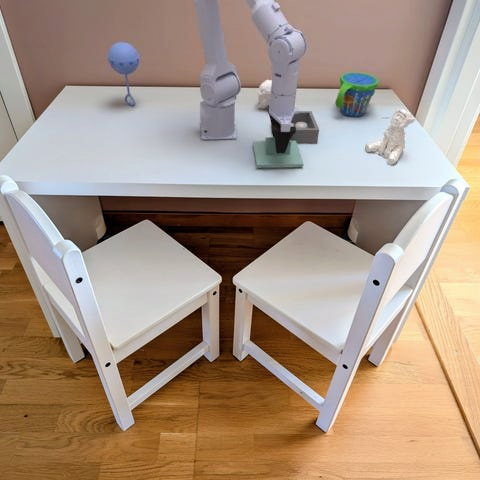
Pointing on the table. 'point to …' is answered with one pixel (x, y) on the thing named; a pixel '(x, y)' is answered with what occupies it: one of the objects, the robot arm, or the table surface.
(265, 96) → the white lumpy piece
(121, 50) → the baby rattle
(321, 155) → the table surface
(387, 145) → the sitting furry creature
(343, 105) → the snack cup
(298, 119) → the storage box
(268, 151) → the lid
